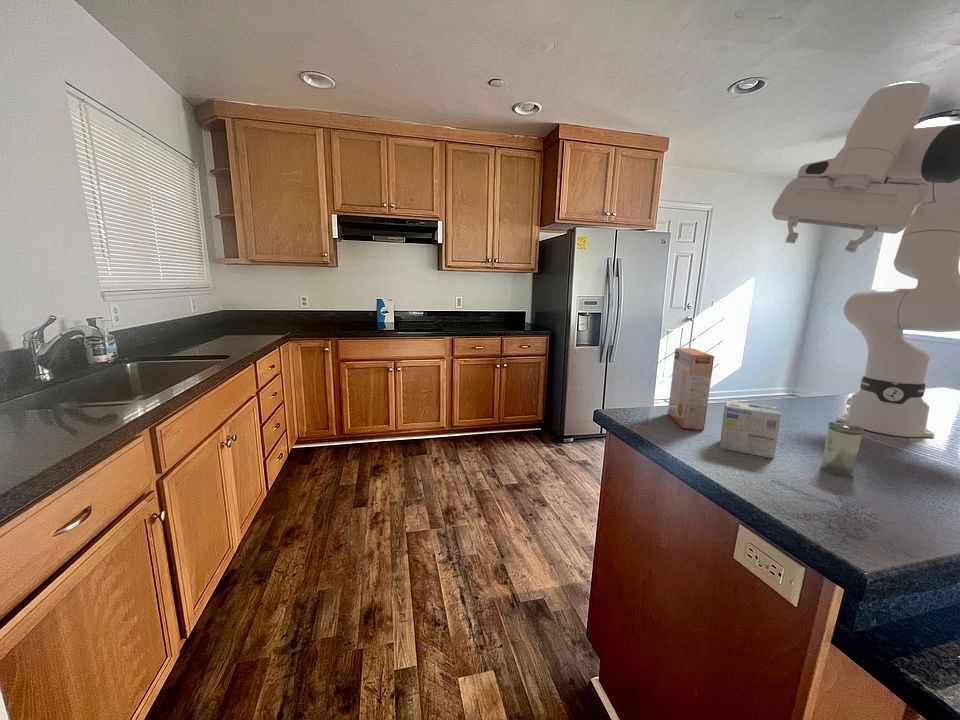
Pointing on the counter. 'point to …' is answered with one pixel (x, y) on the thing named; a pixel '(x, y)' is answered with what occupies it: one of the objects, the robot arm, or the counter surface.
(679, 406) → the cracker box
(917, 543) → the counter surface
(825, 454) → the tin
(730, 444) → the light bulb box
